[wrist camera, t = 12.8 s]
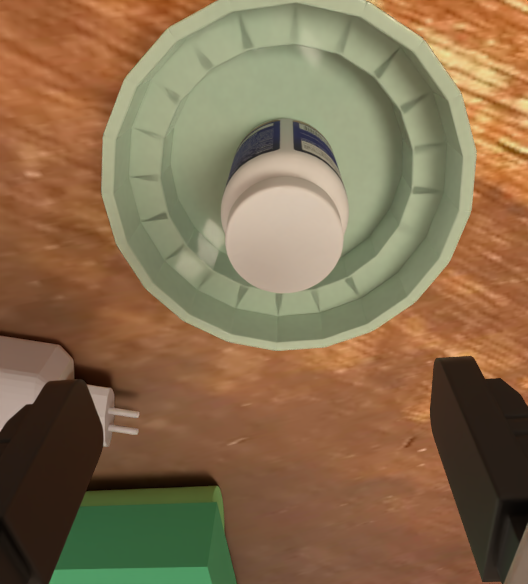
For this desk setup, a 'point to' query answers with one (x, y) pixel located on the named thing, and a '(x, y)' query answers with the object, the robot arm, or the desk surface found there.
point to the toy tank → (147, 538)
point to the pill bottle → (284, 207)
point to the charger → (41, 369)
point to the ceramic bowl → (322, 116)
